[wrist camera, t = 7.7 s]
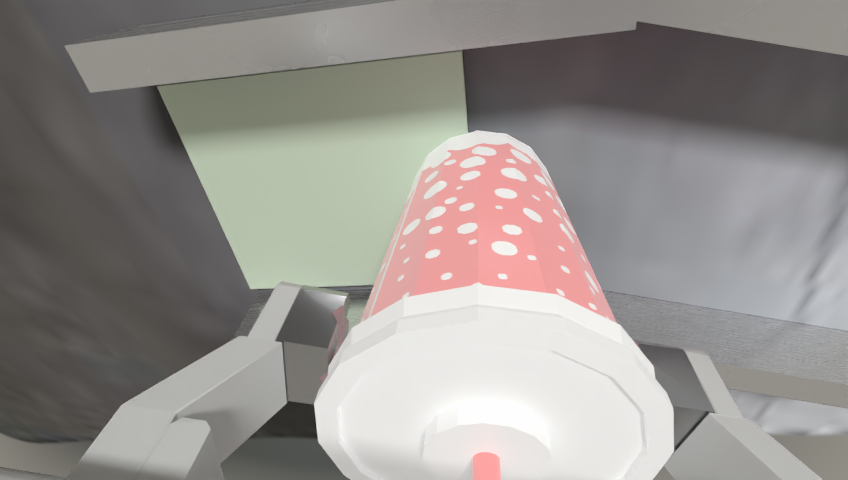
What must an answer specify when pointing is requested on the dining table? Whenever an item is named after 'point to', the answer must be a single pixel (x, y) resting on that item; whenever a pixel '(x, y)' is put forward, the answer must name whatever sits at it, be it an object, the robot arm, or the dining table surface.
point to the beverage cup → (490, 341)
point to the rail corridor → (491, 26)
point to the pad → (317, 159)
